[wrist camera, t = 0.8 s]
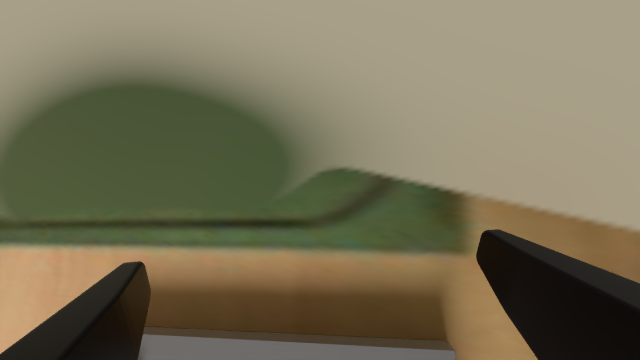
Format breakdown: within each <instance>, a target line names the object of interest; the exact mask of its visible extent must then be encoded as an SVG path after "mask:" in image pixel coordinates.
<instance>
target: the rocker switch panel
mask: <svg viewBox="0 0 640 360" xmlns="http://www.w3.org/2000/svg"><path fill="white" fill-rule="evenodd" d="M138 360H456V357H455V350H454V349H453V348H452V346H451V345H450V344H449V342H448V341H438V340H416V339H395V338H374V337H352V336H331V335H310V334H289V333H267V332H246V331H225V330H203V329H182V328H161V327H144V332H143V337H142V342H141V347H140V351H139V356H138Z"/></svg>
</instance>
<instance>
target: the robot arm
mask: <svg viewBox="0 0 640 360" xmlns="http://www.w3.org/2000/svg"><path fill="white" fill-rule="evenodd" d="M476 258H477V262H478V264H479V266H480V268H481V269H482V271H483V273H484V275H485V277H486V278H487V280H488V282H489V284H490V286H491V287H492V289H493V291H494V293H495V295H496V296H497V298H498V300H499V302H500V303H501V305H502V307H503V309H504V310H505V312H506V313H507V315H508V316H509V318H510V319H511V321H512V322H513V324H514V325H515V327H516V328H517V330H518V331H519V332H520V334H521V335H522V337H523V338H524V340H525V341H526V343H527V344H528V346H529V347H530V348H531V350H532V351H533V353H534V354H535V356H536V357H537V359H538V360H640V283H637V282H635V281H632V280H630V279H627V278H624V277H622V276H619V275H616V274H614V273H611V272H609V271H606V270H603V269H601V268H598V267H596V266H593V265H590V264H588V263H585V262H583V261H580V260H577V259H575V258H572V257H569V256H567V255H564V254H562V253H559V252H556V251H554V250H551V249H549V248H546V247H543V246H541V245H538V244H536V243H533V242H530V241H528V240H525V239H523V238H520V237H517V236H515V235H512V234H509V233H507V232H504V231H502V230H498V229H495V230H486V231H484V232H483V233H482V235H481V238H480V242H479V246H478V250H477V254H476ZM150 295H151V290H150V285H149V281H148V277H147V272H146V268H145V265H144V264H143V263H142V262H140V261H139V262H128V263H123V264H122V265H120V266H119V267H117V268H116V269H115V270H113V271H112V272H111V273H109V274H108V275H107V276H105V277H104V278H103V279H101V280H100V281H98V282H97V283H96V284H94V285H93V286H92V287H90V288H89V289H88V290H86V291H85V292H84V293H82V294H81V295H80V296H78V297H77V298H75V299H74V300H73V301H71V302H70V303H69V304H67V305H66V306H65V307H63V308H62V309H61V310H59V311H58V312H57V313H55V314H54V315H52V316H51V317H50V318H48V319H47V320H46V321H44V322H43V323H42V324H40V325H39V326H38V327H36V328H35V329H34V330H32V331H31V332H29V333H28V334H27V335H25V336H24V337H23V338H21V339H20V340H19V341H17V342H16V343H15V344H13V345H12V346H11V347H9V348H8V349H6V350H5V351H4V352H2V353H1V354H0V360H138V356H139V351H140V347H141V342H142V337H143V332H144V327H145V322H146V317H147V312H148V307H149V302H150Z"/></svg>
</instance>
